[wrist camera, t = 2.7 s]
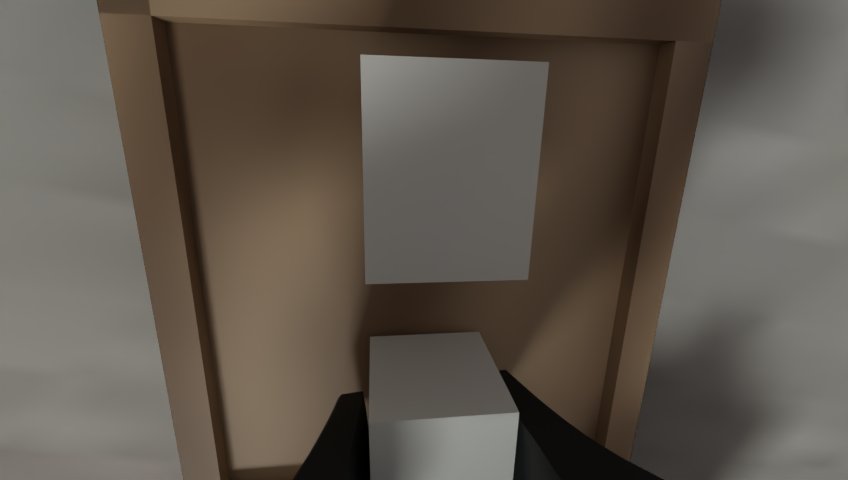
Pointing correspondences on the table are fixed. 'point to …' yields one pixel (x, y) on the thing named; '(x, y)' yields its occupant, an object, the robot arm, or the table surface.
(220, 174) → the tray
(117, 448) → the table surface
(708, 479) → the table surface
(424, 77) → the sharp-edged grey cuboid
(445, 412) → the light grey block
